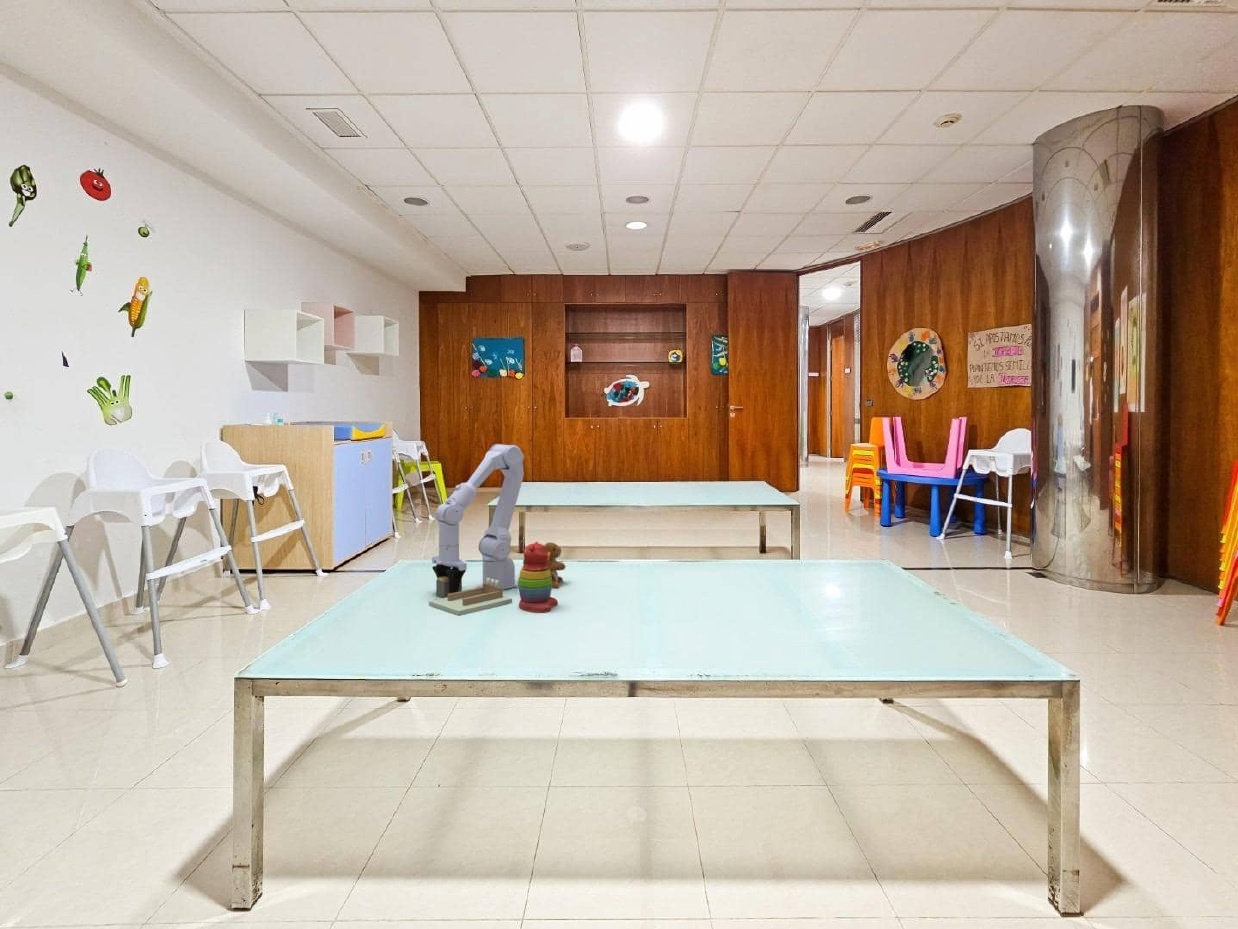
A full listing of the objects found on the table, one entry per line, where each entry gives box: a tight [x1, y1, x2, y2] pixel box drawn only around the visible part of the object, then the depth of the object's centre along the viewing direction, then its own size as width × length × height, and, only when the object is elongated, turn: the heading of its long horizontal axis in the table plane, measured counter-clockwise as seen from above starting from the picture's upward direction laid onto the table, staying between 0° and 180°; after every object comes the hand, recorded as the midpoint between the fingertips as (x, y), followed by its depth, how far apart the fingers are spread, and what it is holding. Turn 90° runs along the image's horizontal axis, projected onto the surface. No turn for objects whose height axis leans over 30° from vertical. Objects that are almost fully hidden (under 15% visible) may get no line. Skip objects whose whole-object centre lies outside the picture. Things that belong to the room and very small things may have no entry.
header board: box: [428, 578, 513, 616], centre depth 195 cm, size 18×14×6 cm
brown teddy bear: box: [522, 542, 566, 589], centre depth 219 cm, size 10×14×13 cm
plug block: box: [435, 576, 463, 599], centre depth 204 cm, size 6×4×6 cm, turn 138°
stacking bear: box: [517, 541, 559, 613], centre depth 193 cm, size 11×10×18 cm
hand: (449, 591), depth 204 cm, fingers open, 5 cm apart
